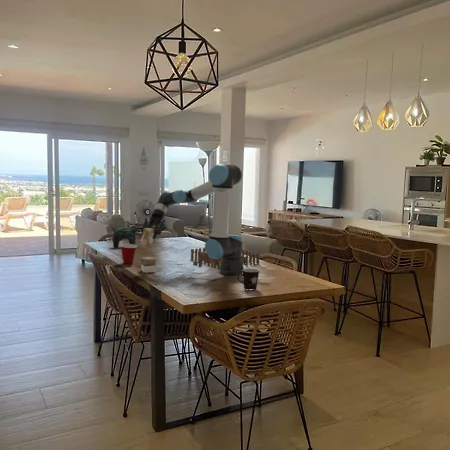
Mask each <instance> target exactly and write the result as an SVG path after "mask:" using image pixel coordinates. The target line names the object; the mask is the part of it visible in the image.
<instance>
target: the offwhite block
mask: <svg viewBox="0 0 450 450" xmlns="http://www.w3.org/2000/svg"><path fill="white" fill-rule="evenodd" d="M140 265H141V264H140ZM140 267H141V269H140V270H141V271H142V273H144V272H145V273H156V265H155V266H143V265H141V266H140Z"/></svg>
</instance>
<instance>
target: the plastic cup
mask: <svg viewBox="0 0 450 450" xmlns="http://www.w3.org/2000/svg"><path fill="white" fill-rule="evenodd" d="M119 246H120V249H121V257H122V262H123V264H125V265H132V264H133V263H134V258H135V252H136V250H137V247H138V245H136V244H135V245H133V244H130V243H121V244H119Z"/></svg>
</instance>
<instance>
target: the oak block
mask: <svg viewBox="0 0 450 450" xmlns="http://www.w3.org/2000/svg"><path fill="white" fill-rule="evenodd" d="M154 231H155V227H154V228H153V227H151V228H145V229H143V243H142V246H143V247H142V248H146V249H147V248H148V249H152V248H155V245H156V240H155V239H156V238H155V239H154V240H153V242H152V244H150V242H149V240H150V238H151V236H152V234H153V233H154Z"/></svg>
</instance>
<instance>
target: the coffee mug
mask: <svg viewBox="0 0 450 450" xmlns="http://www.w3.org/2000/svg"><path fill="white" fill-rule="evenodd" d="M259 273H260V270H259V269H258V268H257V269H256V268H252V267H251V268H244V269H243V274H242V273H240V274H238V275H237V277H236V279H237V281H238V282H240V283H241V284H243V289H244V288H245V289H256V290H257V286H258V282H259V281H258V279H259ZM240 275H241V276H242V279H243V281H241V280H240V279H239V276H240ZM245 289H244V290H245Z"/></svg>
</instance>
